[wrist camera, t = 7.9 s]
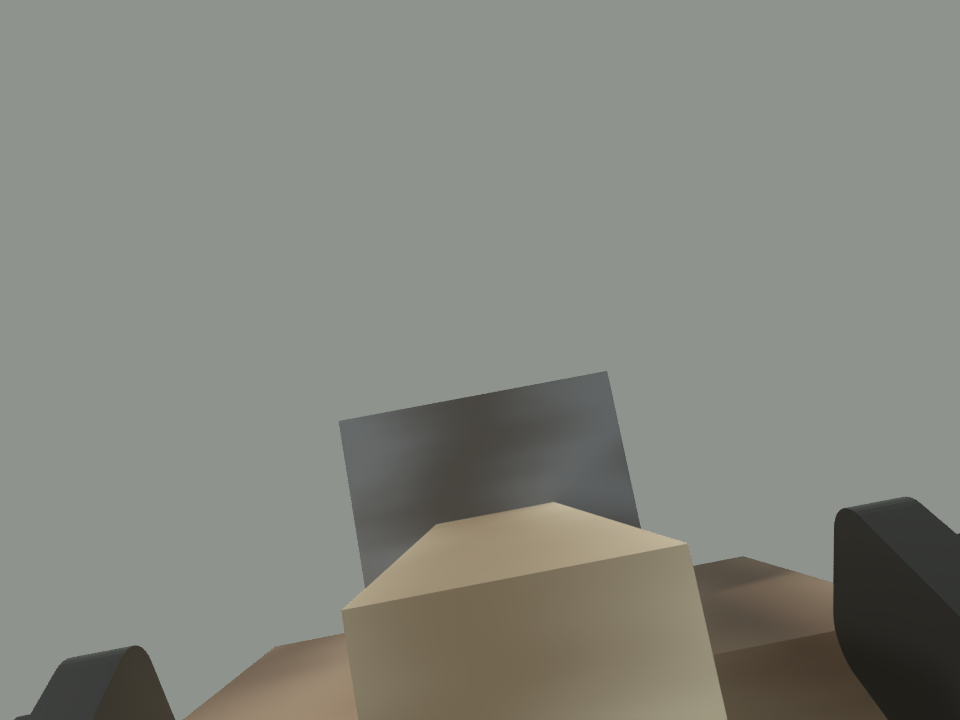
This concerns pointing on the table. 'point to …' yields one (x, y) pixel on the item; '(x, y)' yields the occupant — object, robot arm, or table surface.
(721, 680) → the walnut stand
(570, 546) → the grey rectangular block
